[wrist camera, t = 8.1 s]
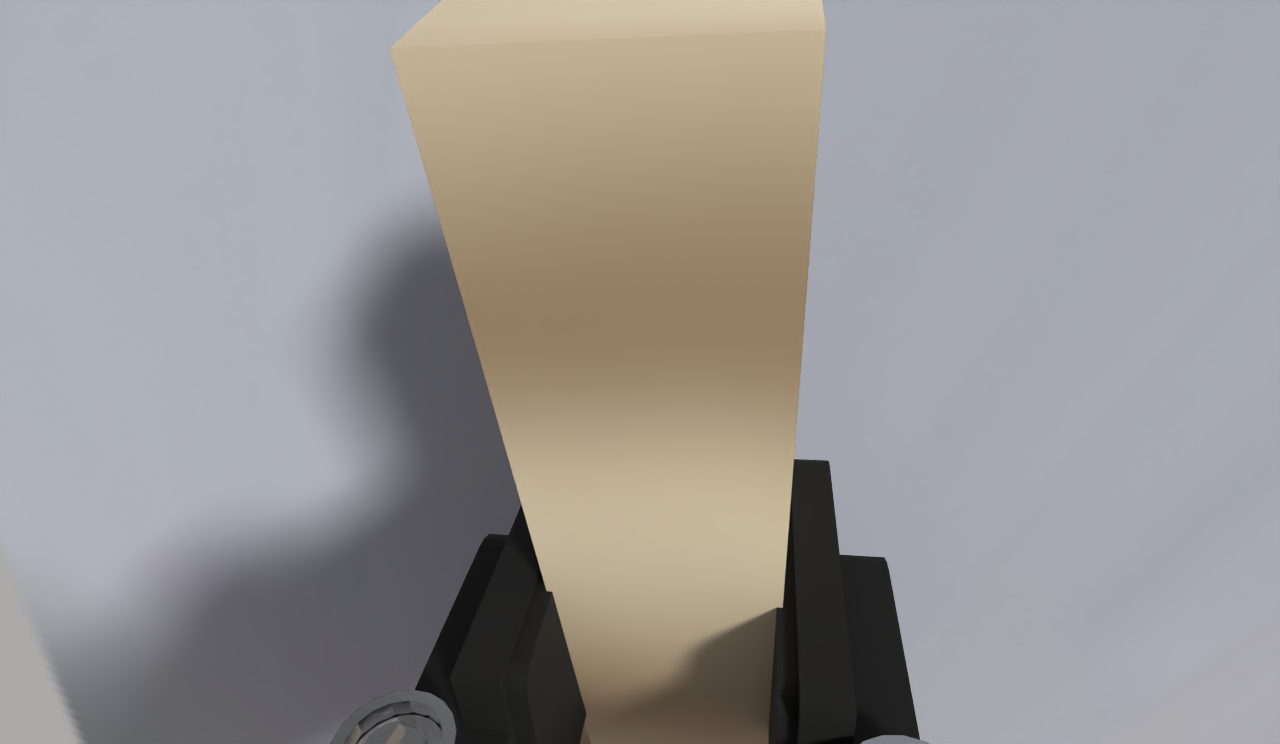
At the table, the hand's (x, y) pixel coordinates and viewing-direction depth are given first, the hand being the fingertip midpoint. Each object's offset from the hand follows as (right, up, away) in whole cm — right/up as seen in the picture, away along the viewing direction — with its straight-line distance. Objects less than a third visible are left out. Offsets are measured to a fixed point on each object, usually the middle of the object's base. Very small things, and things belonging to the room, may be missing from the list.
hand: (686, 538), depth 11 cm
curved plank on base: (0, -1, +2) cm, 3 cm away
